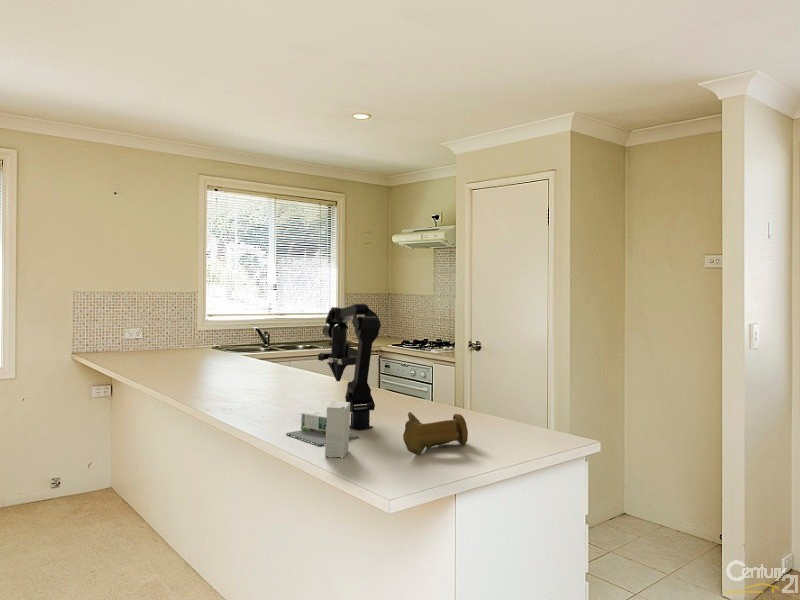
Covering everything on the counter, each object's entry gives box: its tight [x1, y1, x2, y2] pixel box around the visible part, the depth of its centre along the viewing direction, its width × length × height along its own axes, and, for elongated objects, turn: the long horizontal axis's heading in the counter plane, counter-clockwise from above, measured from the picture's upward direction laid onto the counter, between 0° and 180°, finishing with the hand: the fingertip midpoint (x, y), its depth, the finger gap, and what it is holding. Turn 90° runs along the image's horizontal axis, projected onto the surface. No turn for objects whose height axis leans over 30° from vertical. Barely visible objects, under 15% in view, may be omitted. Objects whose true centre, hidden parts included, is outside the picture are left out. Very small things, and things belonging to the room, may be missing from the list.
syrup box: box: [300, 409, 327, 434], centre depth 197 cm, size 6×6×14 cm
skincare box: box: [324, 400, 351, 458], centre depth 172 cm, size 8×6×15 cm
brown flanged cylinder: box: [402, 411, 469, 456], centre depth 181 cm, size 18×13×22 cm
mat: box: [285, 429, 360, 446], centre depth 192 cm, size 18×16×1 cm
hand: (338, 381), depth 223 cm, fingers closed
